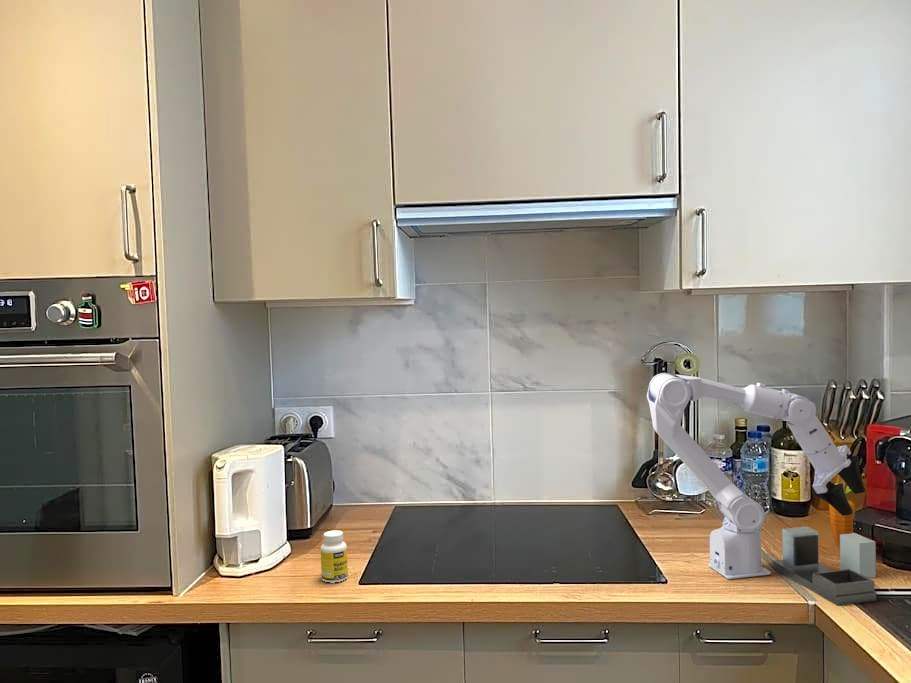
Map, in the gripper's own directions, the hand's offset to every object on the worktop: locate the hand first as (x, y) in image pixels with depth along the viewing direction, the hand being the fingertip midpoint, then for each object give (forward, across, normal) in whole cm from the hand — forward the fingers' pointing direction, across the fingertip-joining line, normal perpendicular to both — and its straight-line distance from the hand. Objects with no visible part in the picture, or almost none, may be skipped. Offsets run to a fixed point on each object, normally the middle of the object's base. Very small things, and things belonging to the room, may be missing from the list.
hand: (853, 503), depth 146 cm
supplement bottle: (-42, -75, +64) cm, 107 cm away
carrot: (+13, +2, +10) cm, 17 cm away
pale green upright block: (+11, -7, +3) cm, 14 cm away
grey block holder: (+6, -16, +4) cm, 18 cm away
